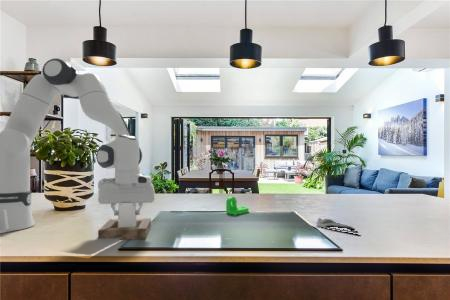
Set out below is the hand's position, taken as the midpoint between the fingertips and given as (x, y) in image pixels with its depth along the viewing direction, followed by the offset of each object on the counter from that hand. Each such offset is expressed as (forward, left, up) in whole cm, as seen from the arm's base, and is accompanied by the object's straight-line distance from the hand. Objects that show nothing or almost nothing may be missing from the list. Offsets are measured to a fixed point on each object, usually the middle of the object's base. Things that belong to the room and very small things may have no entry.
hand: (127, 214), depth 110 cm
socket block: (0, 0, -7) cm, 7 cm away
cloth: (+83, +1, -8) cm, 83 cm away
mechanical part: (+49, +32, -7) cm, 59 cm away
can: (0, 0, -7) cm, 7 cm away
